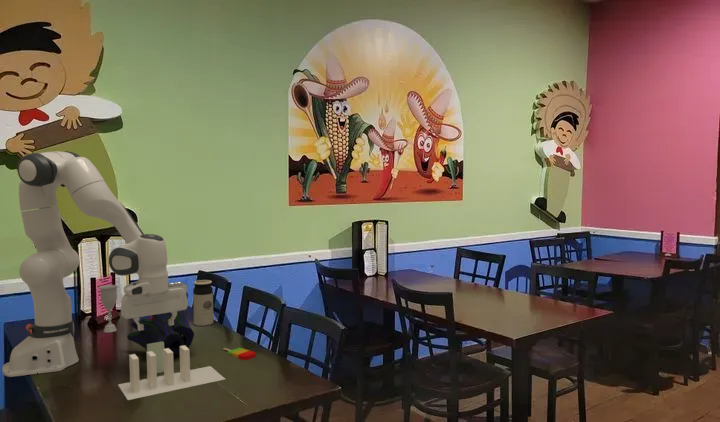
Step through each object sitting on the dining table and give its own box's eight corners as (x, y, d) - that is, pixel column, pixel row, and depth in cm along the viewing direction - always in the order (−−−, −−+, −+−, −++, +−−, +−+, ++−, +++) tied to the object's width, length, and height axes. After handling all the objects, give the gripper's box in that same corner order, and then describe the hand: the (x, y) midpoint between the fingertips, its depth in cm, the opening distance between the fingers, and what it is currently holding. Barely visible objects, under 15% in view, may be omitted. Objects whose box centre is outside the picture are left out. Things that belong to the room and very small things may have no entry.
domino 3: (151, 389, 173) (150, 356, 172) (147, 383, 177) (146, 351, 176) (157, 387, 174) (156, 355, 173) (152, 382, 178) (151, 351, 177)
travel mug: (192, 322, 247) (190, 280, 245) (210, 320, 251) (209, 279, 249) (196, 327, 240) (195, 284, 238) (215, 324, 244) (214, 282, 242)
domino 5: (185, 382, 179) (184, 350, 178) (180, 377, 183) (179, 346, 182) (190, 381, 179) (189, 349, 179) (185, 376, 184) (184, 345, 183)
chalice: (123, 329, 236) (121, 286, 235) (108, 334, 230) (106, 289, 229) (112, 327, 240) (110, 284, 238) (97, 331, 234) (95, 287, 233)
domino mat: (127, 401, 165) (127, 400, 165) (117, 385, 177) (117, 384, 177) (225, 380, 181) (225, 379, 181) (210, 367, 193) (210, 366, 193)
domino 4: (168, 385, 176) (167, 353, 175) (164, 380, 180) (163, 349, 179) (174, 384, 177) (173, 352, 176) (169, 379, 181) (168, 348, 180)
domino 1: (134, 392, 170) (133, 359, 169) (130, 387, 174) (129, 354, 174) (139, 391, 171) (138, 358, 170) (135, 386, 175) (134, 353, 175)
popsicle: (245, 361, 199) (244, 356, 199) (217, 352, 209) (217, 347, 209) (257, 357, 204) (257, 352, 204) (229, 349, 213) (229, 344, 213)
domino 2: (164, 372, 188) (164, 342, 187) (149, 376, 185) (148, 345, 184) (163, 371, 189) (162, 341, 188) (147, 374, 186) (146, 344, 185)
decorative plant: (152, 388, 199) (131, 343, 222) (221, 349, 209) (194, 310, 232) (128, 344, 188) (109, 302, 212) (201, 305, 198) (176, 269, 222)
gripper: (183, 279, 193) (185, 320, 194) (118, 287, 182) (120, 331, 183) (189, 282, 188) (191, 324, 189) (122, 291, 176) (125, 335, 177)
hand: (156, 327), depth 186 cm, fingers open, 8 cm apart
